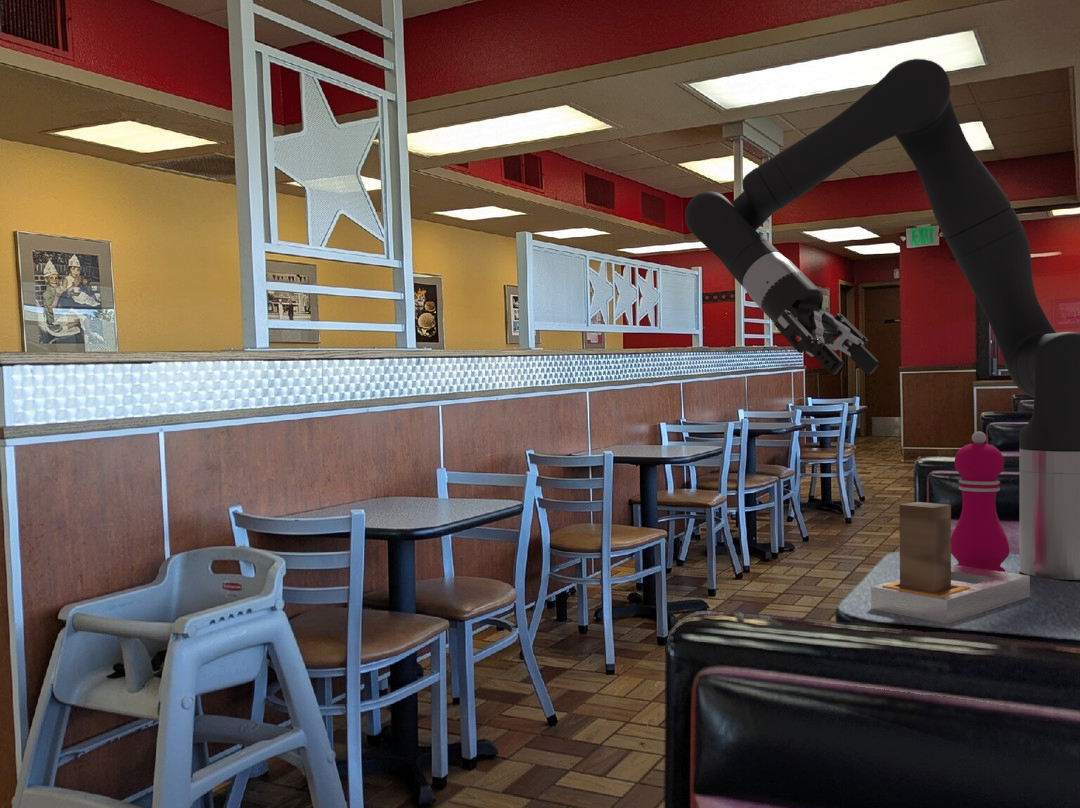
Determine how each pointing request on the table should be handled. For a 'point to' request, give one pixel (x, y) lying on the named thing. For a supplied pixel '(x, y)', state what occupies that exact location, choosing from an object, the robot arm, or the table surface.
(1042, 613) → the table surface
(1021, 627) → the table surface
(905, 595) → the white socket base
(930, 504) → the peg
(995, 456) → the pepper mill
